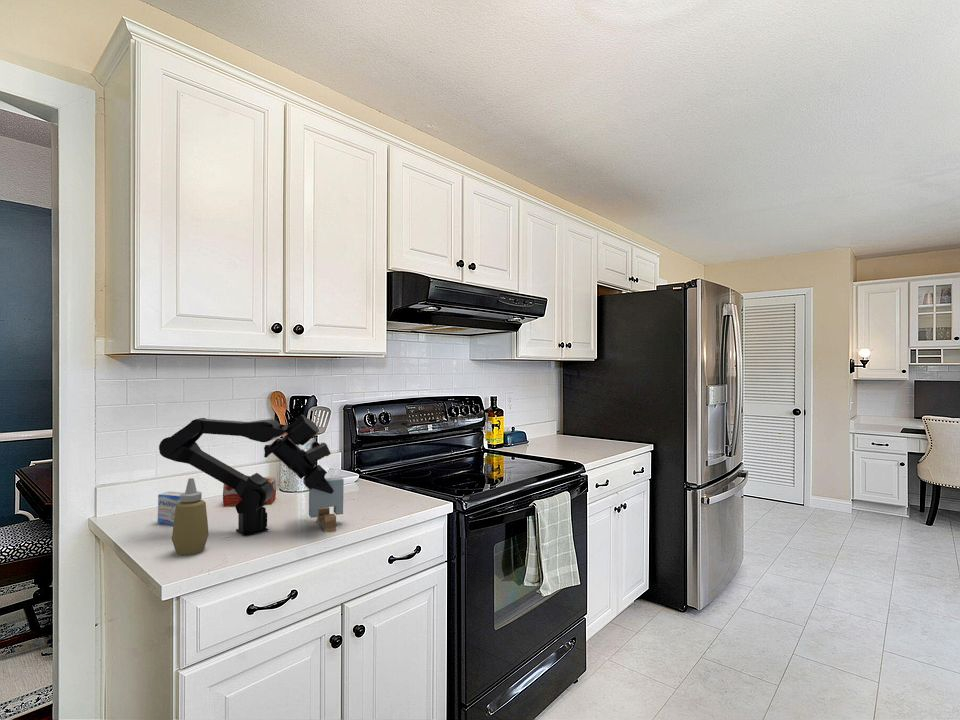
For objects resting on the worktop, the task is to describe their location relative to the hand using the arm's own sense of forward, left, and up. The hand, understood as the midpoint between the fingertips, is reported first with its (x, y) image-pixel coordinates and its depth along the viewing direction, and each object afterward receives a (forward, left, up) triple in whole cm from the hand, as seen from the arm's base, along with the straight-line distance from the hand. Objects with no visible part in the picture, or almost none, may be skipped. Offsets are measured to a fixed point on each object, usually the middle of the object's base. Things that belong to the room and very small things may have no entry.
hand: (331, 490), depth 149 cm
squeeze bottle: (-35, +6, -10) cm, 37 cm away
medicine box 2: (-6, +41, -10) cm, 42 cm away
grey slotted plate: (-1, 0, -7) cm, 7 cm away
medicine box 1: (-30, +34, -10) cm, 47 cm away
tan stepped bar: (-1, 0, -10) cm, 10 cm away
